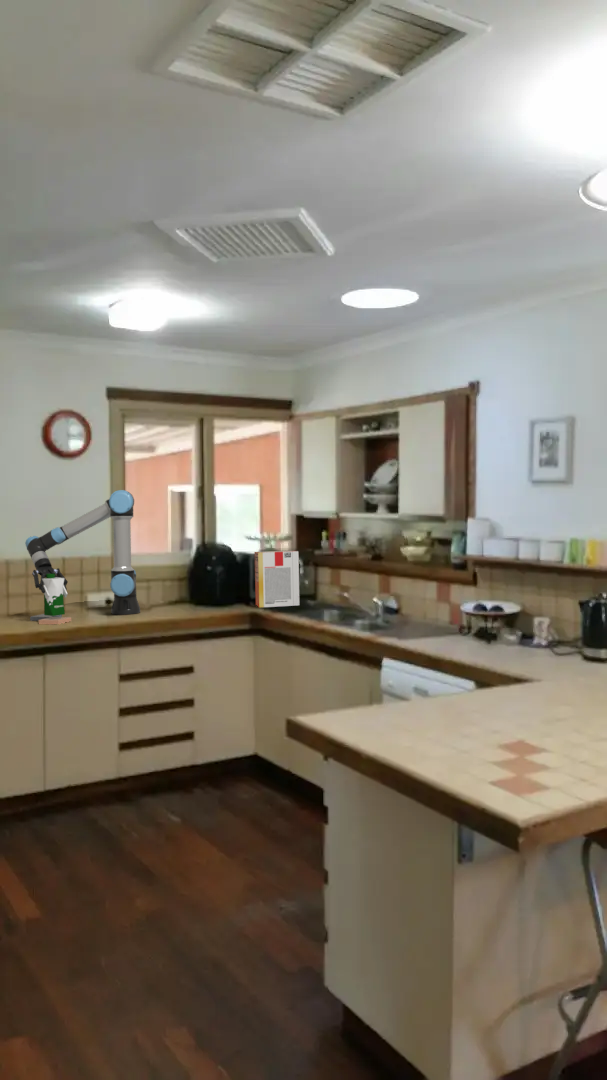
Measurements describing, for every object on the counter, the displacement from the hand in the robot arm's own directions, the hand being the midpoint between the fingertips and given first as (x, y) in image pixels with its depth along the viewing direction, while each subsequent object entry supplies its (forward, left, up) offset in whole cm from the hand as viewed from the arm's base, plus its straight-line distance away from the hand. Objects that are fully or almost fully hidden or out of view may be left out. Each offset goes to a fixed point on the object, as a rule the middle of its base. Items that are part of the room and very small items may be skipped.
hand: (57, 596), depth 415 cm
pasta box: (-82, -87, -13) cm, 121 cm away
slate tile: (+15, -11, -13) cm, 23 cm away
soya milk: (+3, -2, -9) cm, 10 cm away
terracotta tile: (+3, -2, -13) cm, 14 cm away
